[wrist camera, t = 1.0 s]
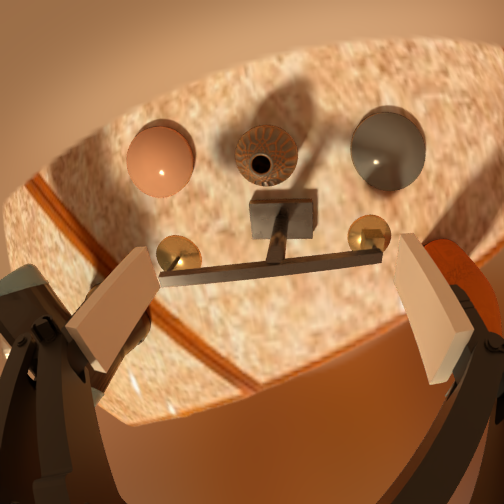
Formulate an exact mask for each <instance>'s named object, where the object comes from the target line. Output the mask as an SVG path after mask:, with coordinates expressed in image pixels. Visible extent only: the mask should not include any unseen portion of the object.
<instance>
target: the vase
mask: <svg viewBox="0 0 504 504" xmlns="http://www.w3.org/2000/svg"><path fill="white" fill-rule="evenodd" d="M235 160H236V165H237V167H238V169H239V171H240V173H241V174H242V175H243V177H244V178H245V179H247V180H248V181H249V182H251V183H253V184H256V185H259V186H274V185H277V184H280V183H282V182H283V181H285V180H286V179H288V178H289V177H290V175H291V174H292V173H293V171H294V170H295V168H296V165H297V161H298V151H297V147H296V144H295V142H294V140H293V138H292V137H291V136H290V135H289V134H288V133H287V132H286V131H284V130H283V129H281V128H279V127H276V126H272V125H261V126H257V127H254V128H252V129H250V130H249V131H247V132H246V133H245V134H244V135H243V136H242V137H241V139H240V140H239V142H238V144H237V147H236V151H235Z"/></svg>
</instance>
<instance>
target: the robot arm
mask: <svg viewBox="0 0 504 504" xmlns="http://www.w3.org/2000/svg"><path fill="white" fill-rule="evenodd" d="M394 284H395V286H396V288H397V291H398V293H399V296H400V298H401V301H402V303H403V306H404V308H405V311H406V314H407V316H408V319H409V322H410V324H411V327H412V330H413V333H414V335H415V339H416V341H417V344H418V348H419V350H420V354H421V357H422V360H423V363H424V367H425V370H426V373H427V377H428V380H429V384H430V385H432V384H437V383H442V382H446V381H447V380H448V379H449V377H450V375H451V373H452V372H453V374H454V377H455V381H454V383H453V384H452V386H451V388H450V389H449V391H448V392H447V394H446V395H445V396H447V397H446V399H445V401H444V403H443V405H442V407H441V409H440V411H439V413H438V415H437V417H436V418H435V420H434V422H433V424H432V425H431V427H430V429H429V431H428V432H427V434H426V436H425V437H424V439H423V441H422V442H421V444H420V445H419V447H418V449H417V450H416V452H415V453H414V455H413V456H412V458H411V459H410V461H409V462H408V463H407V465H406V466H405V468H404V469H403V471H402V472H401V473H400V474H399V476H398V477H397V478H396V480H395V481H394V482H393V484H392V485H391V486H390V487H389V489H388V490H387V491H386V493H385V494H384V495H383V496H382V497H381V498H380V500H379V501H378V502H377V503H376V504H447V503H448V501H449V500H450V498H451V496H452V495H453V493H454V491H455V490H456V488H457V486H458V485H459V483H460V481H461V479H462V477H463V475H464V473H465V472H466V470H467V468H468V466H469V464H470V461H471V459H472V458H473V456H474V453H475V451H476V449H477V447H478V444H479V442H480V440H481V437H482V435H483V433H484V430H485V427H486V425H487V422H488V419H489V417H490V420H489V427H488V433H487V440H486V445H485V450H484V455H483V459H482V463H481V467H480V471H479V475H478V478H477V482H476V485H475V488H474V492H473V494H472V498H471V500H470V503H469V504H504V339H503V338H502V337H501V336H500V335H498V334H497V333H494V332H489V331H488V329H487V327H486V325H485V324H484V322H483V320H482V318H481V317H480V315H479V313H478V311H477V310H476V308H474V305H473V303H472V302H471V301H470V298H469V297H468V295H467V294H466V292H465V291H464V290H463V289H462V288H461V287H459V286H458V285H457V284H454V285H449V284H448V283H447V281H446V279H445V278H444V276H443V275H442V273H441V272H440V270H439V269H438V267H437V266H436V264H435V263H434V261H433V260H432V258H431V257H430V255H429V254H428V252H427V251H426V250H425V248H424V247H423V245H422V244H421V243H420V241H419V240H418V238H417V237H416V236H415V234H414V233H408V234H400V237H399V246H398V254H397V261H396V268H395V274H394ZM159 289H160V285H159V282H158V279H157V277H156V274H155V271H154V268H153V265H152V262H151V259H150V256H149V253H148V250H147V247H146V246H145V247H135V248H134V249H133V250H132V251H131V252H130V253H129V254H128V255H127V256H126V257H125V258H124V259H123V260H122V261H121V263H120V264H119V265H118V266H117V267H116V268H115V269H114V270H113V271H112V272H111V273H110V274H109V275H108V277H107V278H106V279H105V280H104V281H103V282H102V283H100V284H97V285H95V286H94V287H93V288H92V289H91V290H90V291H89V292H88V294H87V296H86V298H85V301H84V302H83V303H82V304H81V307H79V308H78V309H77V310H76V312H75V313H74V314H73V315H71V314H70V313H69V311H68V310H67V309H66V307H65V306H64V305H63V303H62V302H61V301H60V299H59V298H58V297H57V295H56V294H55V292H54V291H53V289H52V288H51V286H50V285H49V282H48V281H47V280H46V279H45V278H44V277H43V275H42V274H41V272H40V271H39V270H38V268H37V267H36V266H35V265H33V264H26V265H23V266H22V267H20V268H18V269H16V270H15V271H13V272H12V273H10V274H8V275H7V276H5V277H4V278H3V279H1V280H0V504H127V503H126V502H125V501H124V500H123V499H122V498H121V496H120V495H119V493H118V490H117V488H116V485H115V482H114V479H113V476H112V473H111V470H110V466H109V463H108V460H107V457H106V453H105V450H104V446H103V442H102V438H101V434H100V430H99V426H98V421H97V417H96V412H95V407H96V405H97V404H98V402H99V401H100V399H101V398H102V396H104V392H105V390H106V389H107V387H108V385H109V383H110V381H111V379H112V378H113V376H114V374H115V372H116V370H117V369H118V367H119V365H120V363H121V362H122V360H123V358H124V357H125V355H126V354H128V353H129V352H130V351H131V350H132V349H134V348H135V347H136V345H139V344H140V343H142V342H143V341H144V339H145V338H146V336H147V334H148V333H149V330H150V320H149V317H148V315H147V313H146V311H145V310H146V308H147V307H148V305H149V304H150V302H151V301H152V299H153V298H154V296H155V295H156V293H157V292H158V290H159ZM28 370H30V371H31V372H32V374H33V375H34V376H35V378H34V380H32V379H31V378H30V377H29V375H28V374H27V373H28Z"/></svg>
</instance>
